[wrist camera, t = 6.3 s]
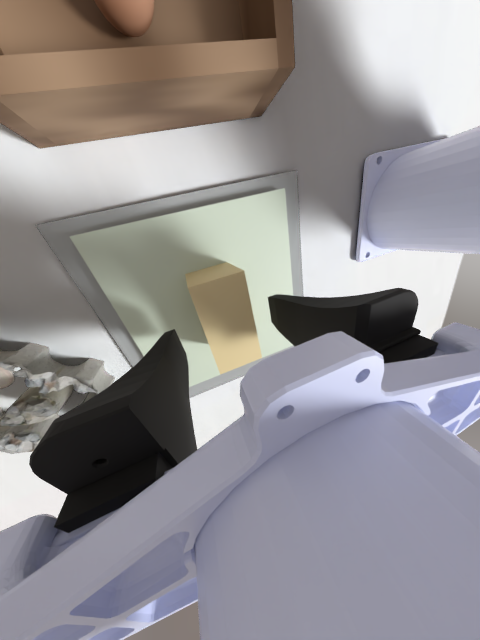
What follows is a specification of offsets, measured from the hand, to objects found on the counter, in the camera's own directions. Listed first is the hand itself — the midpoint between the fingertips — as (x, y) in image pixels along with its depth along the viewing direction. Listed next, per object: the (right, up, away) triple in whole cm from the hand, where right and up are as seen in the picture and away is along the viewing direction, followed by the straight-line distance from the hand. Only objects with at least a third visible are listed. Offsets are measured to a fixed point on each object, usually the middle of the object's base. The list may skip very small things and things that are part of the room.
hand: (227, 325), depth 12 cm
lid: (-1, +2, +2) cm, 3 cm away
